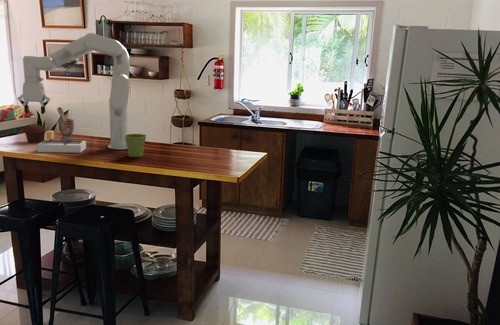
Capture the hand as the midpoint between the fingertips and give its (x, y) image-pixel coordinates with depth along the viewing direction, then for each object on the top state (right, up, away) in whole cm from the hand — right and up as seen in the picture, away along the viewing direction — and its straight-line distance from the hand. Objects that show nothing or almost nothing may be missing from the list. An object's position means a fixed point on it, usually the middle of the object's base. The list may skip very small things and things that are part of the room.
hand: (35, 113), depth 227 cm
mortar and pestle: (+3, -13, +30) cm, 33 cm away
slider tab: (+6, -15, +5) cm, 17 cm away
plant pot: (+54, -23, 0) cm, 59 cm away
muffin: (-11, -14, +23) cm, 30 cm away
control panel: (+12, -19, +6) cm, 24 cm away
